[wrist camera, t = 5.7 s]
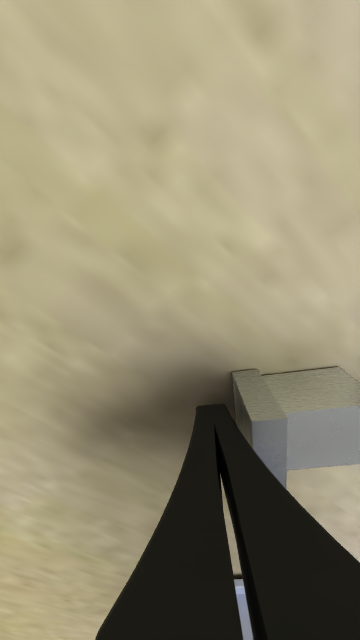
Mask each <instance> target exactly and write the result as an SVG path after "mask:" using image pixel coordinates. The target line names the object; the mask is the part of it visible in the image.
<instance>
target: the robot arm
mask: <svg viewBox="0 0 360 640" xmlns="http://www.w3.org/2000/svg"><path fill="white" fill-rule="evenodd" d="M220 474H221V478H222V482H223V486H224V491H225V495H226V499H227V503H228V507H229V511H230V516H231V520H232V524H233V528H234V533H235V538H236V543H237V549H238V555H239V560H240V566H241V572H242V578H243V579H234V577H233V570H232V564H231V558H230V551H229V545H228V539H227V532H226V526H225V519H224V513H223V502H222V490H221V478H220ZM95 640H360V562H359V561H358V560H356V559H355V558H354V557H353V556H352V555H351V554H350V553H349V552H348V551H347V550H346V549H345V548H344V547H343V546H341V545H340V544H339V543H338V542H337V541H336V540H335V539H334V538H333V537H332V536H331V535H330V534H329V533H328V532H327V531H326V530H325V529H324V528H323V527H322V526H321V525H320V524H319V523H318V522H317V521H316V520H315V519H314V518H313V517H312V516H311V515H310V514H309V513H308V512H307V511H306V510H305V509H304V508H303V507H302V506H301V505H300V504H299V503H298V501H297V500H296V499H295V498H294V497H293V496H292V495H291V494H290V493H289V492H288V491H287V490H286V488H285V487H284V486H283V485H282V484H281V483H280V482H279V481H278V479H277V478H276V477H275V476H274V475H273V474H272V472H271V471H270V470H269V469H268V468H267V466H266V465H265V464H264V463H263V461H262V460H261V459H260V458H259V456H258V455H257V454H256V452H255V451H254V450H253V448H252V447H251V446H250V444H249V443H248V441H247V440H246V439H245V437H244V436H243V434H242V433H241V431H240V430H239V428H238V427H237V425H236V424H235V422H234V420H233V419H232V417H231V415H230V413H229V412H228V410H227V408H226V405H225V404H223V403H220V404H211V405H202V406H198V407H197V408H196V417H195V423H194V428H193V433H192V436H191V440H190V444H189V448H188V451H187V454H186V457H185V460H184V463H183V466H182V469H181V472H180V474H179V477H178V480H177V482H176V485H175V487H174V490H173V492H172V495H171V497H170V499H169V502H168V504H167V506H166V508H165V510H164V513H163V515H162V517H161V519H160V521H159V523H158V525H157V527H156V529H155V531H154V533H153V535H152V537H151V539H150V541H149V543H148V545H147V547H146V549H145V551H144V552H143V554H142V556H141V558H140V560H139V562H138V564H137V566H136V568H135V569H134V571H133V573H132V575H131V577H130V578H129V580H128V582H127V583H126V585H125V587H124V589H123V590H122V592H121V594H120V595H119V597H118V599H117V600H116V602H115V604H114V605H113V607H112V609H111V611H110V612H109V614H108V616H107V617H106V619H105V621H104V622H103V624H102V626H101V627H100V629H99V631H98V633H97V636H96V639H95Z"/></svg>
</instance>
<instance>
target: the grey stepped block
mask: <svg viewBox="0 0 360 640" xmlns="http://www.w3.org/2000/svg"><path fill="white" fill-rule="evenodd" d="M232 379H233V391H234V404H235V417H236V425H237V427H238V428H239V430H240V431H241V433H242V434H243V436H244V437H245V439H246V440H247V441H248V443H249V444H250V446H251V447H252V448H253V450H254V451H255V452H256V454H257V455H258V456H259V458H260V459H261V460H262V461H263V463H264V464H265V465H266V466H267V468H268V469H269V470H270V471H271V472H272V474H273V475H274V476H275V477H276V478H277V479H278V481H279V482H280V483H281V484H282V485H283V486H284V487H285V488H286V470H296V469H308V468H319V467H331V466H343V465H354V464H360V382H359V381H358V380H356V379H355V378H354V377H352V376H351V375H350V374H348V373H347V372H346V371H344V370H343V369H342V368H340V367H334V368H325V369H317V370H308V371H299V372H291V373H282V374H273V375H265V376H261V374H260V373H259V371H258V370H257V369H254V370H246V371H237V372H232Z"/></svg>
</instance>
